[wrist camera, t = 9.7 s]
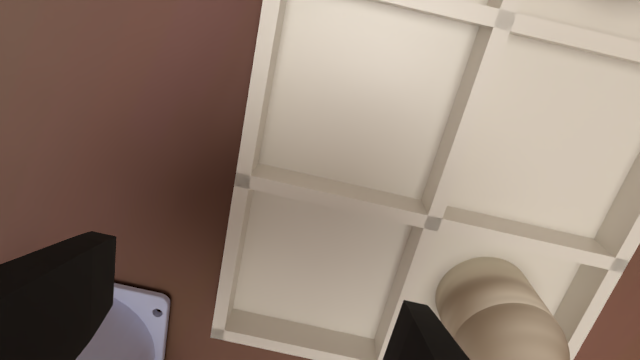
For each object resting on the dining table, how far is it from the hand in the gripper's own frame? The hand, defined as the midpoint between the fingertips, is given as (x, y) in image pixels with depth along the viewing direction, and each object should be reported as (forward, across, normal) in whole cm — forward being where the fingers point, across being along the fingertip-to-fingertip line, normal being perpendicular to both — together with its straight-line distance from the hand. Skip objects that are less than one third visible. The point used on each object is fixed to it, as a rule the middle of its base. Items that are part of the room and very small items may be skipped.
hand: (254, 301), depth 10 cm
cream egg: (+9, -10, +4) cm, 14 cm away
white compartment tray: (+9, -6, -4) cm, 12 cm away
